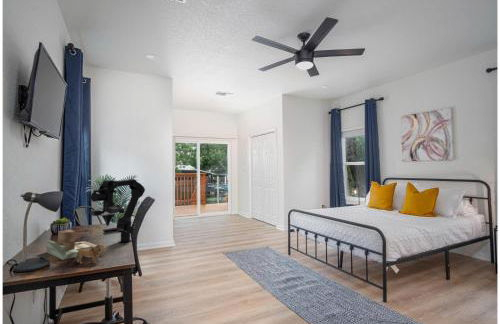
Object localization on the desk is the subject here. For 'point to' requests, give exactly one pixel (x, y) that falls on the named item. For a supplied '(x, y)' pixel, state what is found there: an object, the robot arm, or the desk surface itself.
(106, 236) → the desk surface
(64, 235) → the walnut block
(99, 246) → the lion figurine
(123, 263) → the desk surface
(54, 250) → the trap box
